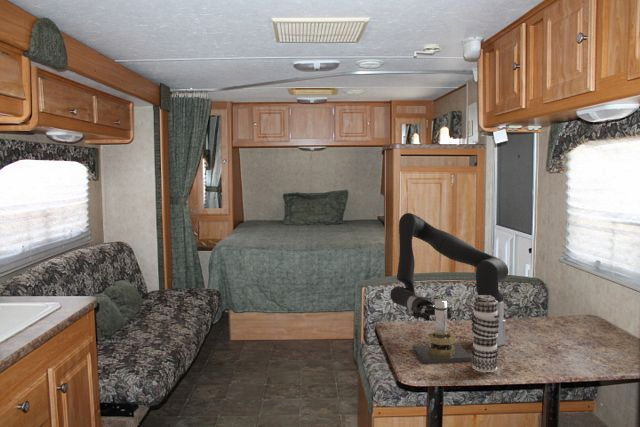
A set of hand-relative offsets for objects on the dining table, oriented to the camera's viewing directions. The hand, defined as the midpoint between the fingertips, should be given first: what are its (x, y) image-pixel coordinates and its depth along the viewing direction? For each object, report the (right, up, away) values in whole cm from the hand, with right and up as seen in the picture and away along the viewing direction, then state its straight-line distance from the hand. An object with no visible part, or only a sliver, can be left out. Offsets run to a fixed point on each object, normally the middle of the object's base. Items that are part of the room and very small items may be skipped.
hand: (439, 317), depth 186 cm
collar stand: (+1, -14, 0) cm, 14 cm away
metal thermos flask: (+1, -12, 0) cm, 12 cm away
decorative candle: (+13, -15, -12) cm, 23 cm away
